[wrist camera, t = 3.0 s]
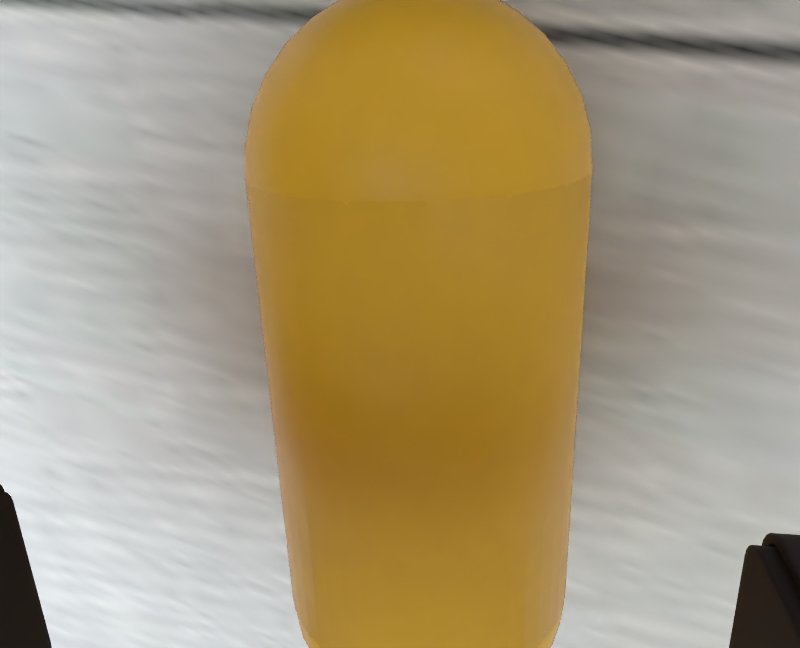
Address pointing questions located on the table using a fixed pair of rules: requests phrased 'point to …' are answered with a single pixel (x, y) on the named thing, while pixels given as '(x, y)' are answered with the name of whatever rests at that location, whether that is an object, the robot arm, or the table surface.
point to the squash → (422, 318)
